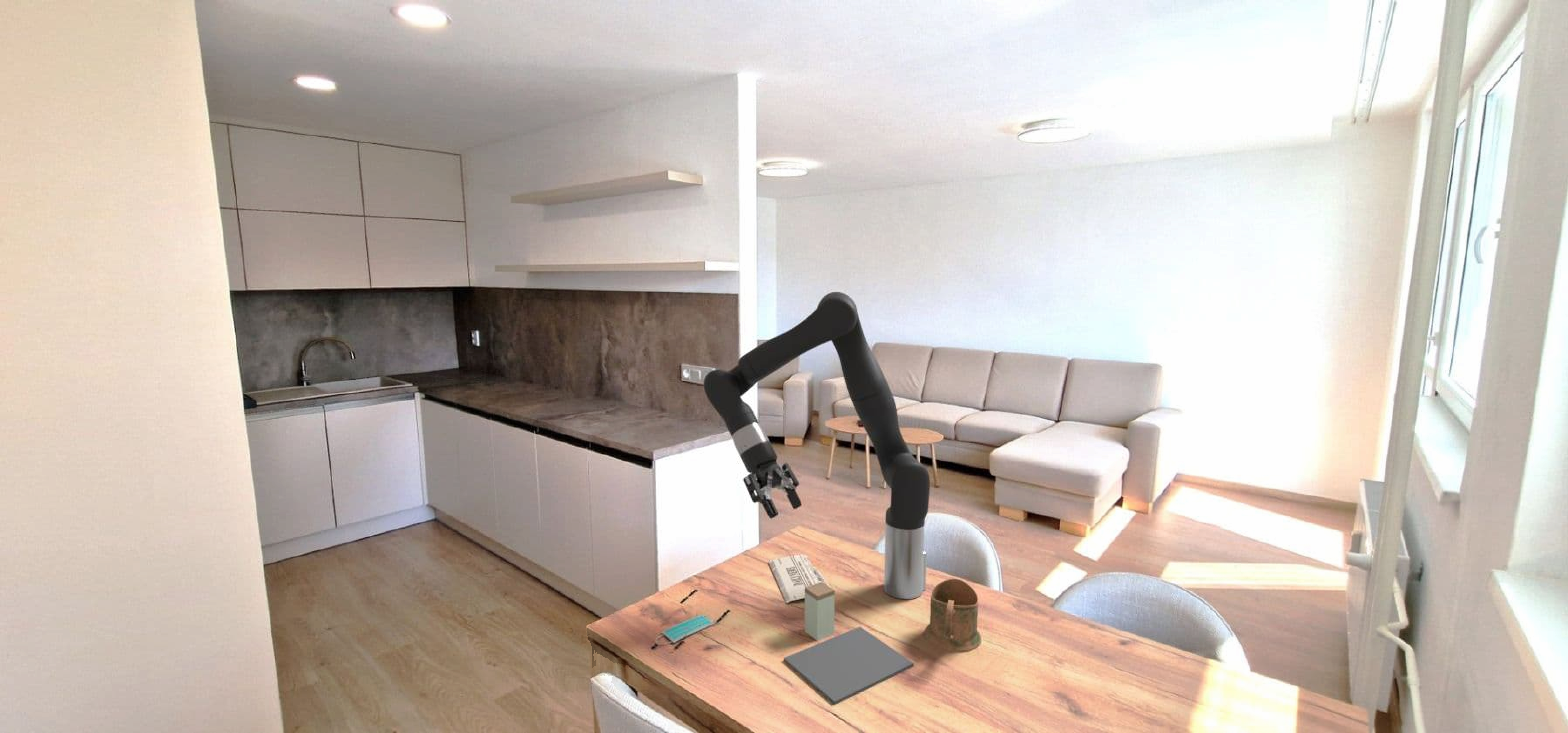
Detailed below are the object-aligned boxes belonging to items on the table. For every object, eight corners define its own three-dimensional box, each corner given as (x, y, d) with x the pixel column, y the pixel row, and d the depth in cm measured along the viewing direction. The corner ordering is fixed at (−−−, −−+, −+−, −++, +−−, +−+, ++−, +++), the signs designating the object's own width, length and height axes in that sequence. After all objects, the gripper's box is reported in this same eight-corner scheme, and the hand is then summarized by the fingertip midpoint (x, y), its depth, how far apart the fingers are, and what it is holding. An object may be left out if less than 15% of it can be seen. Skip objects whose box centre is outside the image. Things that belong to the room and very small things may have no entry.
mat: (859, 629, 140) (859, 626, 140) (913, 666, 127) (914, 663, 127) (783, 660, 129) (783, 658, 129) (834, 704, 116) (834, 701, 116)
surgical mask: (696, 587, 151) (733, 595, 147) (696, 604, 152) (734, 613, 147) (642, 631, 132) (684, 642, 128) (643, 651, 133) (684, 662, 129)
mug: (916, 662, 128) (918, 605, 126) (928, 617, 145) (930, 567, 143) (977, 674, 124) (980, 616, 122) (982, 627, 141) (985, 575, 139)
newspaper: (837, 600, 153) (836, 591, 153) (787, 611, 151) (786, 601, 150) (812, 558, 175) (811, 550, 175) (768, 567, 173) (767, 558, 172)
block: (821, 624, 142) (821, 581, 140) (834, 634, 138) (834, 590, 137) (804, 631, 139) (804, 587, 138) (817, 641, 136) (817, 596, 134)
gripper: (743, 444, 139) (778, 513, 135) (783, 435, 151) (816, 497, 146) (723, 460, 143) (755, 527, 139) (763, 449, 155) (794, 511, 150)
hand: (786, 512), depth 142 cm, fingers open, 8 cm apart
